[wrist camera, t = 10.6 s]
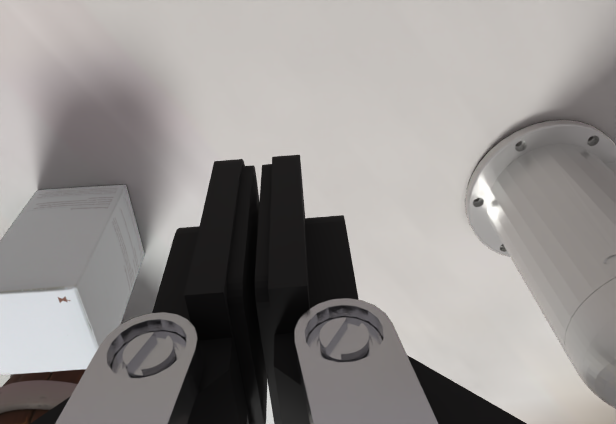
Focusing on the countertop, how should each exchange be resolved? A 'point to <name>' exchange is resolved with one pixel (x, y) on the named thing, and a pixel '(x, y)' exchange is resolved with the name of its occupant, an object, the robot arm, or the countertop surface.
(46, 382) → the flowerpot
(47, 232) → the supplement box
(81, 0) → the countertop surface
